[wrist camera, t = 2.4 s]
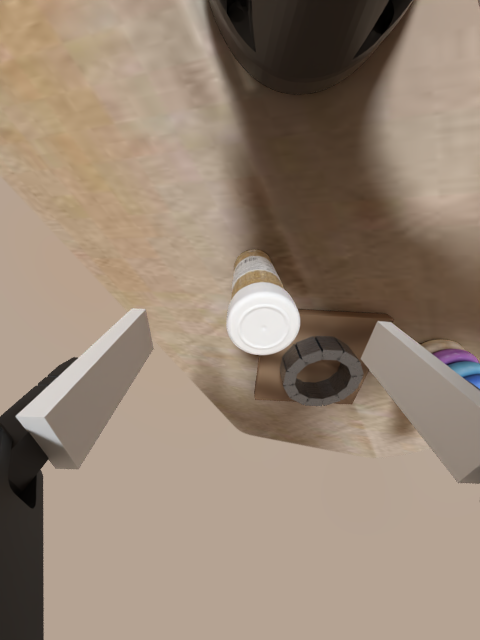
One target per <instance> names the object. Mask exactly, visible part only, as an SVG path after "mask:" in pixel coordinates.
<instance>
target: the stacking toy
mask: <svg viewBox="0 0 480 640" xmlns="http://www.w3.org/2000/svg"><path fill="white" fill-rule="evenodd" d="M420 345H421V346H422V347H424V348H425V349H426V350H428V351H429V352H430V353H431V354H433V355H434V356H435V357H437V358H438V359H439V360H441V361H442V362H443V363H444V364H446V365H447V366H448V367H450V368H451V369H452V370H453V371H455V372H456V373H457V374H459V375H460V376H461V377H463V378H464V379H465V380H467V381H469V382H471V383H472V384H474V385H475V386H476V387H478V388H479V389H480V364H479V362H478V360H477V358H476V357H475V356H474V355H473V354H471V353H470V352H467V351H465V350H464V348H463V347H462V346H461V345H460V344H458V343H456V342H454V341H451V340H445V339H439V340H431V341H428V342H425V343H422V344H420Z"/></svg>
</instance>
